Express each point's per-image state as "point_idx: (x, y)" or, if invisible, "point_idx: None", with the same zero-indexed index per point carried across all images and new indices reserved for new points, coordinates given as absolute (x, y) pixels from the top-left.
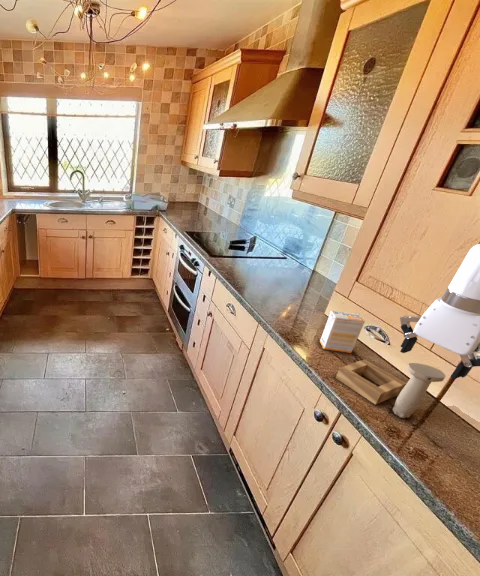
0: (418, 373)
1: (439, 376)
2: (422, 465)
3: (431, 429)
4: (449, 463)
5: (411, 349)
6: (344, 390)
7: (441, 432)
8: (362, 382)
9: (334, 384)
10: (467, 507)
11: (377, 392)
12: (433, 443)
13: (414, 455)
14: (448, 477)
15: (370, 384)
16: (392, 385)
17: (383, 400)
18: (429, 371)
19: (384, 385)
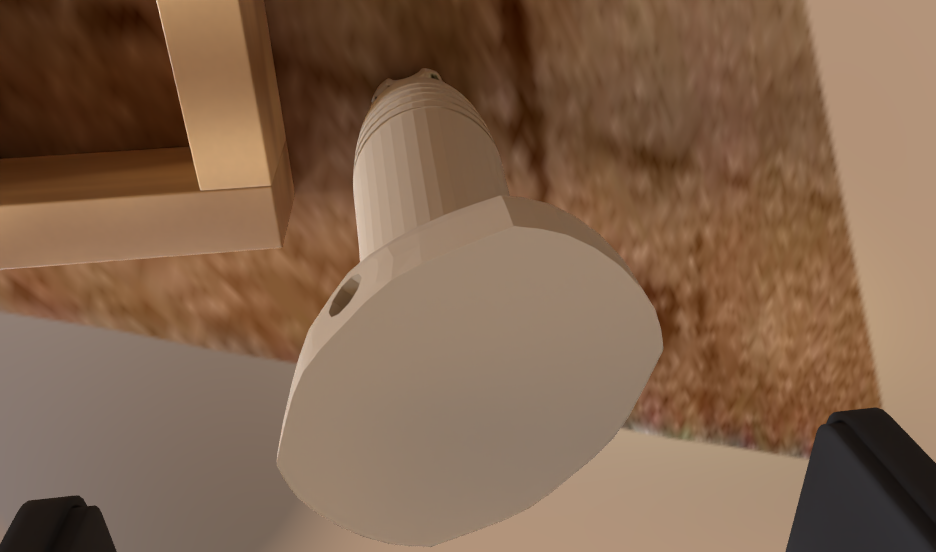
0: (465, 524)
1: (617, 387)
2: (686, 367)
3: (588, 49)
4: (751, 233)
5: (86, 533)
6: (118, 272)
7: (632, 8)
8: (122, 258)
9: (43, 286)
10: (861, 391)
11: (256, 246)
12: (650, 170)
13: None
14: (775, 322)
15: (160, 224)
16: (208, 34)
17: (279, 107)
18: (498, 396)
19: (194, 112)
